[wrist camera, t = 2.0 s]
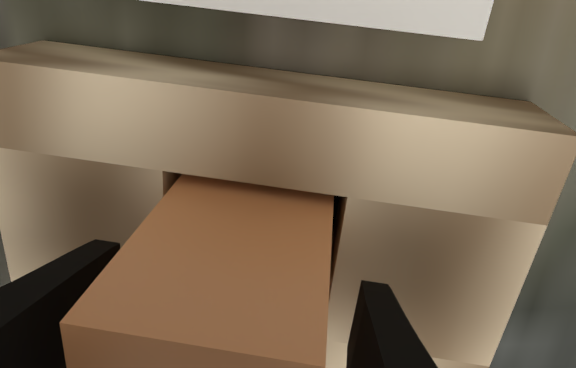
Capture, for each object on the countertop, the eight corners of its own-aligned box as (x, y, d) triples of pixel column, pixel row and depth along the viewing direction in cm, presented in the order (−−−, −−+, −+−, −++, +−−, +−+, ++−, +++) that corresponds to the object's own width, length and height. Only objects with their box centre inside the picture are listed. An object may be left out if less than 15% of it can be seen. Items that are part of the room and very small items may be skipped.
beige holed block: (75, 285, 17) (24, 343, 14) (43, 40, 13) (-37, 56, 10) (446, 344, 16) (467, 419, 13) (530, 101, 12) (583, 137, 9)
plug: (205, 249, 16) (85, 484, 8) (208, 142, 14) (59, 322, 7) (318, 266, 15) (295, 524, 8) (335, 160, 14) (325, 366, 6)
